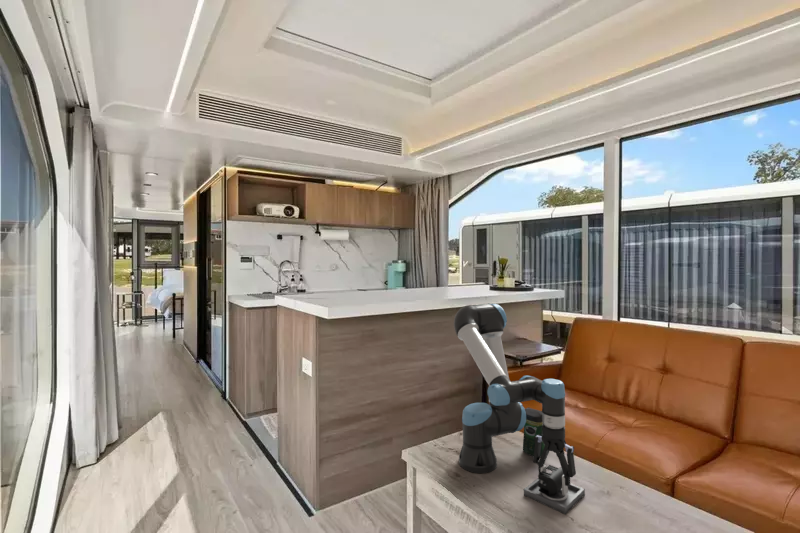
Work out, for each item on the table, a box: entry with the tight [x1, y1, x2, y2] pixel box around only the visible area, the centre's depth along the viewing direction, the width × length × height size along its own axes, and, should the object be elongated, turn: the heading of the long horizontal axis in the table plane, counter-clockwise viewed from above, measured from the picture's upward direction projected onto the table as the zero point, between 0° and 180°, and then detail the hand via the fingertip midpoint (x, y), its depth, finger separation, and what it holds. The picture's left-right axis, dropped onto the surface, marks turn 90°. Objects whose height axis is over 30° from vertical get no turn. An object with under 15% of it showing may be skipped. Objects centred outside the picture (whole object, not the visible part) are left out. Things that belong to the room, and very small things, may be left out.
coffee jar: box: [522, 407, 545, 458], centre depth 176 cm, size 10×8×19 cm
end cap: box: [537, 464, 564, 496], centre depth 146 cm, size 10×7×7 cm
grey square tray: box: [523, 478, 586, 515], centre depth 146 cm, size 15×15×2 cm
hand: (554, 488), depth 147 cm, fingers closed on end cap, 7 cm apart
